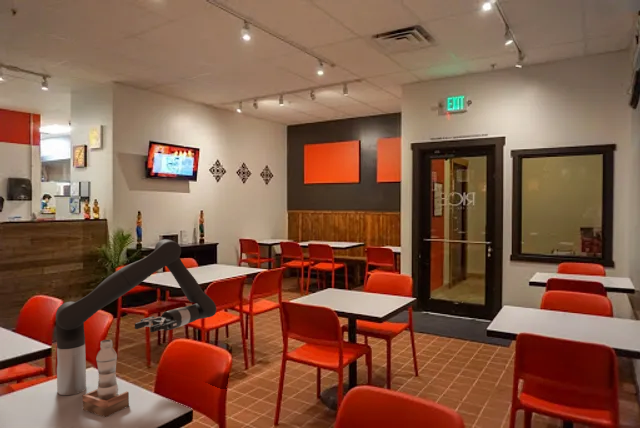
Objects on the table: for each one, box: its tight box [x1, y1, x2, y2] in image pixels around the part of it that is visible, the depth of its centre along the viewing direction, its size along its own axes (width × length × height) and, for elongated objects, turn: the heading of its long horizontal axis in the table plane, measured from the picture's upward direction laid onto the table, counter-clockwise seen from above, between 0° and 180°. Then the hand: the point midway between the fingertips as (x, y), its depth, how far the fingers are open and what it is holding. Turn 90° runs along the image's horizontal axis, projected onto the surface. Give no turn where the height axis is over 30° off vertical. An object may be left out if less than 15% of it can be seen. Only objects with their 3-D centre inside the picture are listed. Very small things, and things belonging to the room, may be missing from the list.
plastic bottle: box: [95, 339, 119, 400], centre depth 152 cm, size 6×7×20 cm
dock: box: [82, 388, 130, 418], centre depth 151 cm, size 12×9×5 cm
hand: (142, 328), depth 165 cm, fingers open, 8 cm apart
